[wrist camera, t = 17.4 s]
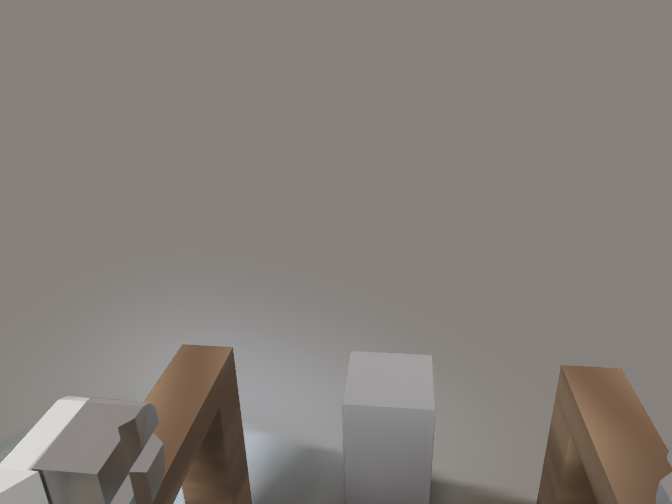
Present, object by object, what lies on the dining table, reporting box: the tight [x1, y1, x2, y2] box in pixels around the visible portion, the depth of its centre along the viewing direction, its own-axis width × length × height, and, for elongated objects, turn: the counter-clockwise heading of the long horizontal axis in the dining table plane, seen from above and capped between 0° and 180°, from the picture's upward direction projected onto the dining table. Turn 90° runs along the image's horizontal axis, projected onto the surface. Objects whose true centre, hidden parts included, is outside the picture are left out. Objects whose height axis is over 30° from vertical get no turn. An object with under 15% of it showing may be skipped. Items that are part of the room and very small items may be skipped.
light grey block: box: [342, 351, 435, 504], centre depth 33 cm, size 5×5×9 cm
